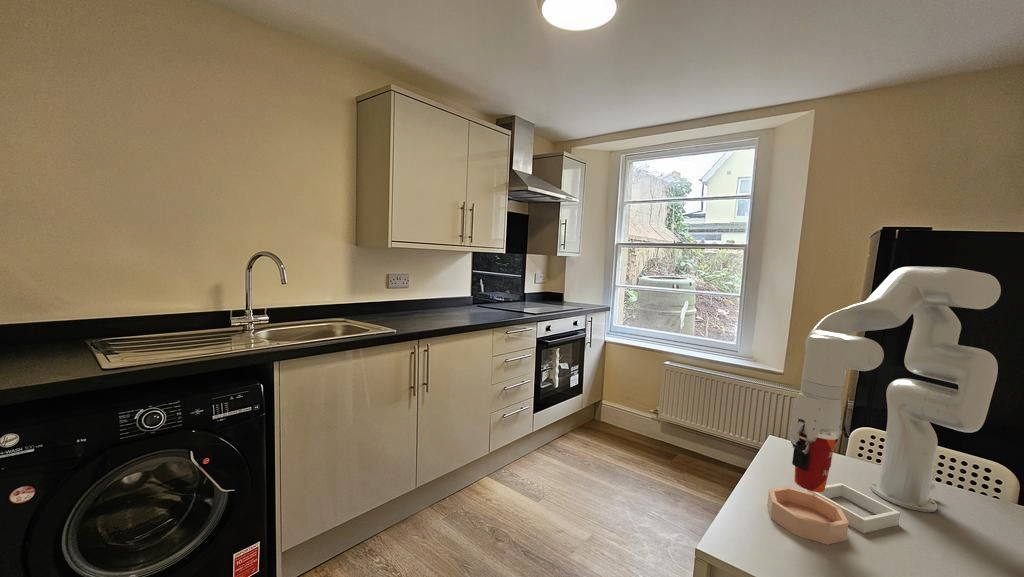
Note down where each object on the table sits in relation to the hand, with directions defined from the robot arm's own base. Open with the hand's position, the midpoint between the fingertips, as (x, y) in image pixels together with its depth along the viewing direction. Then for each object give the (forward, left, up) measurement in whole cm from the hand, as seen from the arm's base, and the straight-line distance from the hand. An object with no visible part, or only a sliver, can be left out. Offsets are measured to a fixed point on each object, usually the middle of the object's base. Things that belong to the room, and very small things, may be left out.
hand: (811, 465), depth 91 cm
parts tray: (-16, 0, -13) cm, 21 cm away
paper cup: (0, 0, -5) cm, 5 cm away
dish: (0, 0, -13) cm, 13 cm away
